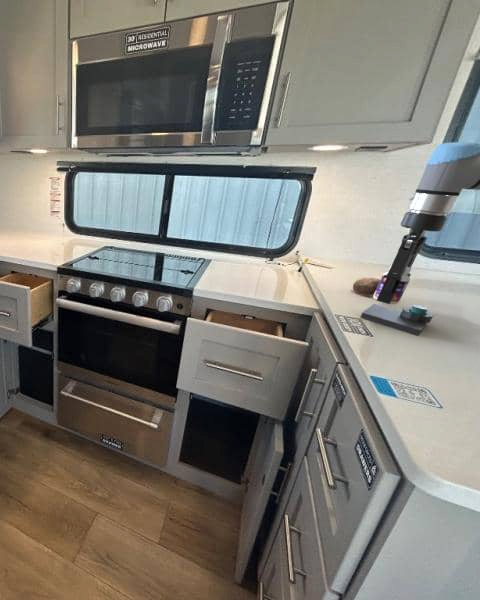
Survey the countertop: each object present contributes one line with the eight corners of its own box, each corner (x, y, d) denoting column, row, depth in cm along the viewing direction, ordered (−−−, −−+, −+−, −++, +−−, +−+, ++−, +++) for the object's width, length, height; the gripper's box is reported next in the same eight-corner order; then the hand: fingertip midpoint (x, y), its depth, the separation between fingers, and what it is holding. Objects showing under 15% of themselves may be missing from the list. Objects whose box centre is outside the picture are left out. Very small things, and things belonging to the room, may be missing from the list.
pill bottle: (370, 299, 90) (386, 265, 86) (374, 295, 93) (389, 262, 89) (396, 306, 86) (414, 271, 82) (399, 301, 89) (416, 267, 86)
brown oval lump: (384, 284, 110) (380, 270, 108) (388, 300, 105) (385, 285, 103) (353, 289, 116) (350, 276, 113) (356, 304, 111) (352, 290, 108)
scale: (428, 325, 90) (434, 313, 88) (420, 337, 83) (426, 324, 81) (371, 308, 99) (376, 297, 97) (359, 318, 91) (364, 306, 90)
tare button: (425, 314, 89) (428, 308, 88) (423, 316, 87) (427, 310, 86) (411, 309, 91) (414, 304, 90) (408, 312, 89) (411, 306, 88)
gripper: (414, 209, 88) (377, 289, 97) (398, 211, 77) (359, 301, 87) (453, 213, 83) (410, 298, 92) (443, 217, 72) (396, 312, 81)
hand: (385, 299), depth 89 cm, fingers closed on pill bottle, 5 cm apart
